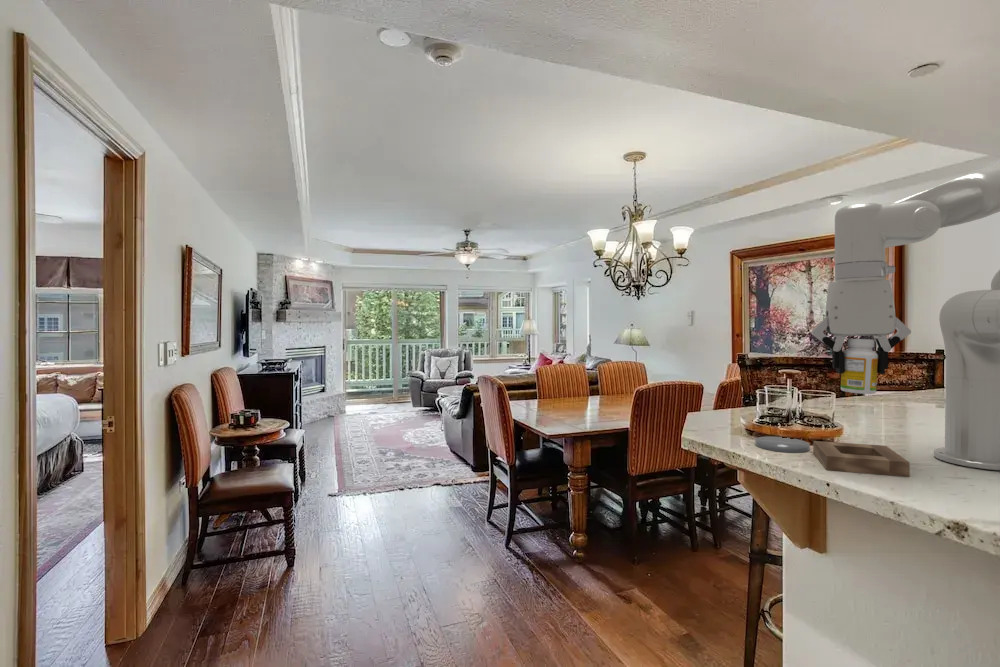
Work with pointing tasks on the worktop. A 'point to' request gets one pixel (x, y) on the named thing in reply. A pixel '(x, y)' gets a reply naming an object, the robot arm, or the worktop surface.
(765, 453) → the worktop surface
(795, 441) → the coaster
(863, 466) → the frame
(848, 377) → the supplement bottle
